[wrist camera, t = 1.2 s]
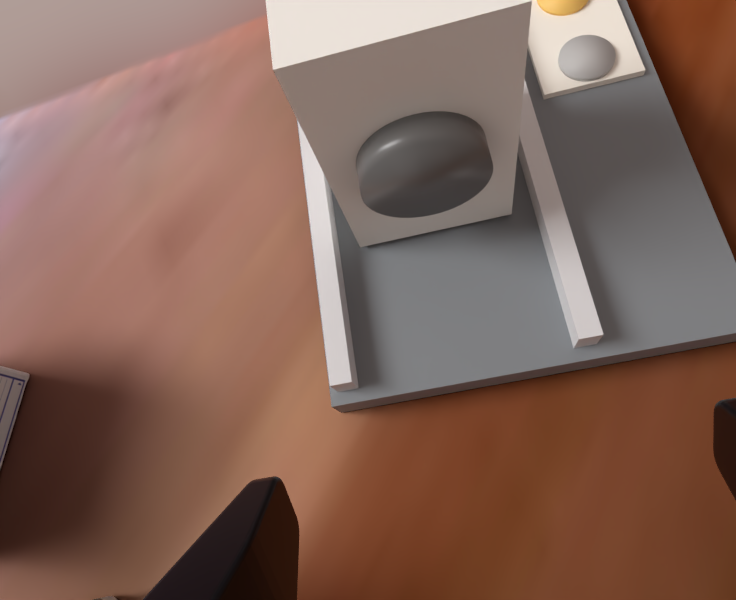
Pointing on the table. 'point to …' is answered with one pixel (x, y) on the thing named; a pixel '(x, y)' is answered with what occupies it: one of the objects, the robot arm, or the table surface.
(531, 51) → the switch board
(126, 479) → the table surface
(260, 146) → the table surface
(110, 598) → the coffee box
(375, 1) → the toggle
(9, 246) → the table surface
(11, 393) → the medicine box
